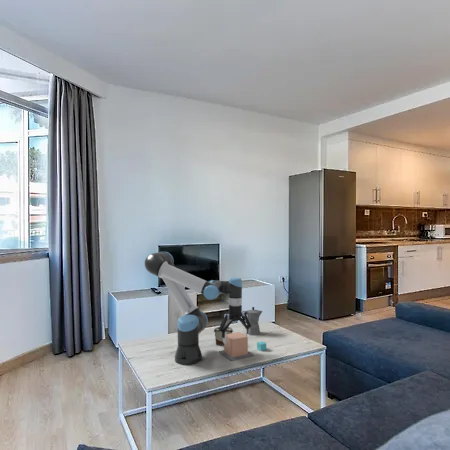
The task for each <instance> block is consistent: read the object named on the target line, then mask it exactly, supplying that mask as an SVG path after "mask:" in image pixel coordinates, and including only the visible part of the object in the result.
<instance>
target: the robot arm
mask: <svg viewBox="0 0 450 450" xmlns="http://www.w3.org/2000/svg"><path fill="white" fill-rule="evenodd" d="M174 262H175V260H174V257H173V255H172V254H171V253H170V252H168V251H159V252H154V253H150V254H148V255H147V256H146V258H145V260H144V268H145V270H146V271H147V272H149V273H150V274H152V275H154V276H156V277H158V278H160V279H162V280H163V282H164V283H165V286H166V288H167V289H168V291H169V293H170V294H171V296H172V298H173V300H174V301H175V304H176V305H177V308H179V310H180V312H181V316H179V318H178V319H177V325H176V328H177V347H176V351H175V355H174V362H176V363H177V364H180V365H194V364H198V363H200V362H201V361H202V360H203V353H202V351H201V347H200V345H199V343H200V341H199V340H200V339H199V338H200V337H199V335H200V334H201V333H202V332H203V331H205V329H206V327H207V325H208V322H209V321H208V315H207V314H206V312H204V311H202V310H201V309H200V308H199V306H197V305H195V304H194V302H193V301H192V299H191V296H190V295H189V293H188V291H187V290H186V288H188V289H190V290H192V291H194V292H197V293H198V294H201V295H203V296H204V298H206V299H207V300H209V301H212V300H215V299H217V298H218V296H220V295H228V313H227V314H226V313H224V314H223V318H222V320H221V322H220V325H219V326H218V327H219V331H221V332H222V338H223V343H224V344H226V332H225V331H226V330H227V328H228V327H230V325H232V323H233V322H238V321H239V322H240V323H241V324H242V326H244V328H243V335H245V336H247V337H248V335H249V334H248V329H249V327H251V324H250V322H249V320H248V317H247V313H246V312H244V311H245V310H243V305H242V303H243V301H242V300H243V282H242V278H241V277H236V276H235V277H230V278H228V280H217V279H216V280H215V279H214V280H213V279H211V280H210V281H207V280H205V279H203V278H201V277H198V276H196V275H194V274H191V273H189V272H188V271H184V270H182V269H180V268H177V267H176V266H175V264H174ZM242 315H243V317H244V319H245V322H246V323H245V322H244V321H243V319H242V317H241V316H242Z"/></svg>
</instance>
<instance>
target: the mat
mask: <svg viewBox="0 0 450 450" xmlns="http://www.w3.org/2000/svg"><path fill="white" fill-rule="evenodd" d="M218 353H219V354H221V356H223V357H224V358H226V359H227V360H229V361H230V362H231V361H237V360H241V359H246V358H249V357H250V358H251V357H254V356H255V354H253V353H252V352H250V351H249V350H248V354H247V355H242V356H237V357H231V356H230V355H228V354H227V353H225V352H224V349H223V350H218Z"/></svg>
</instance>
